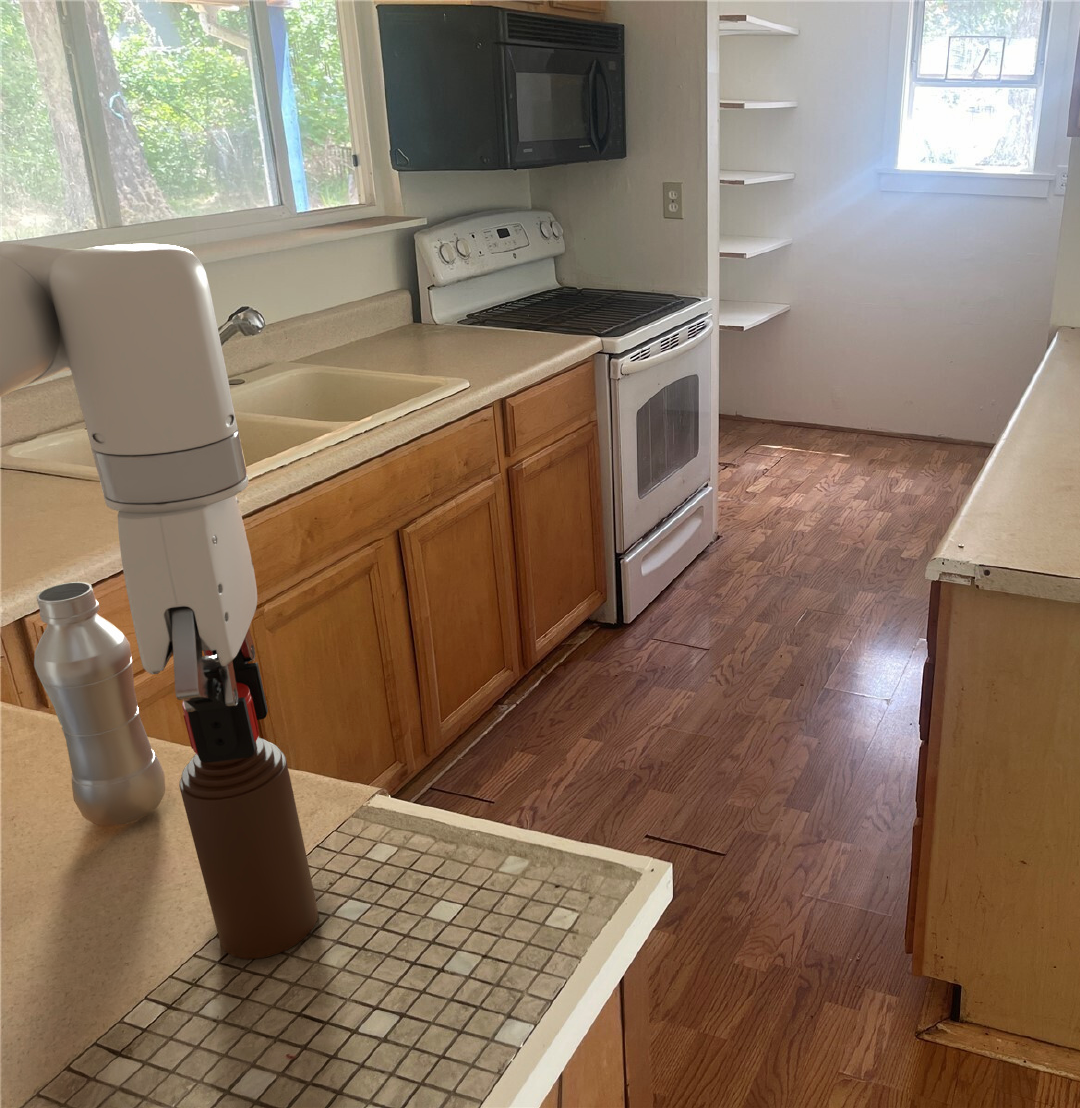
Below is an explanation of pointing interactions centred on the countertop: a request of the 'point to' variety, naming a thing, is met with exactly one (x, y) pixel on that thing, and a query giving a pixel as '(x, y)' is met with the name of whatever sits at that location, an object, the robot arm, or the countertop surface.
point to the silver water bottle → (96, 708)
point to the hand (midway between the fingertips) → (235, 735)
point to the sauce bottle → (250, 851)
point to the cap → (245, 692)
